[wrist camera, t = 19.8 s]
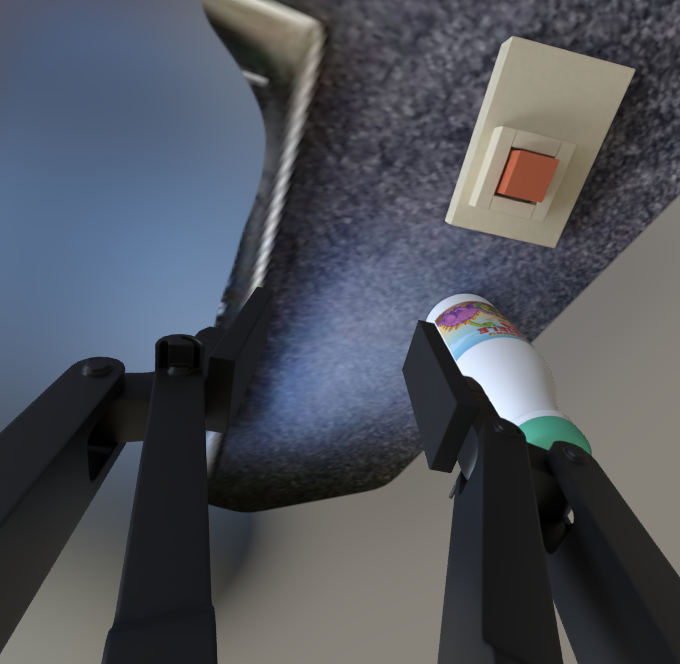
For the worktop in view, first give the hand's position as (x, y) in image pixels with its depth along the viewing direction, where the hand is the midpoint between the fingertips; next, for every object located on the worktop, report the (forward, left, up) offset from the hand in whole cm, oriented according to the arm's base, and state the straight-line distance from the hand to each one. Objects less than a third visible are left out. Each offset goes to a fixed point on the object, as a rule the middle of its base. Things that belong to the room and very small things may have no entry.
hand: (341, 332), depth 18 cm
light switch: (-11, +14, -21) cm, 28 cm away
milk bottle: (+6, +14, -21) cm, 26 cm away
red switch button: (-9, +13, -17) cm, 24 cm away
